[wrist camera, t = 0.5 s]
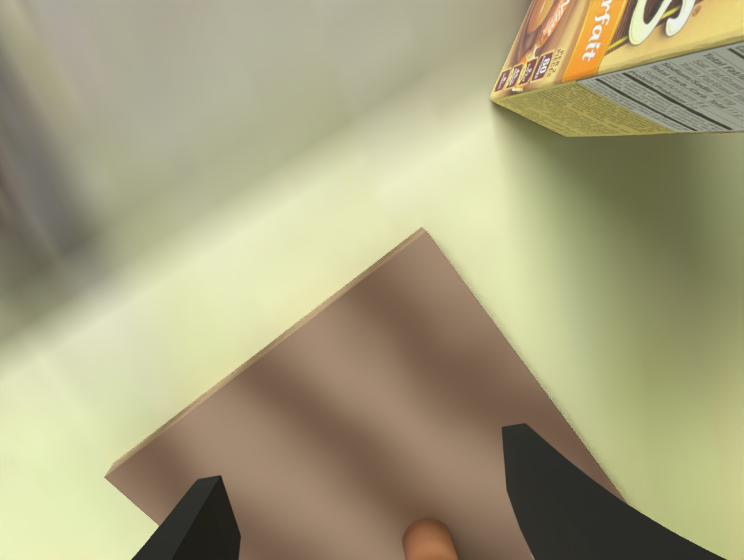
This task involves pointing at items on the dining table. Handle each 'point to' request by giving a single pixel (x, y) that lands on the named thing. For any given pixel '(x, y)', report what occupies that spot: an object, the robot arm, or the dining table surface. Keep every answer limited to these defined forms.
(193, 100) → the dining table surface
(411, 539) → the joystick
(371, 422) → the thin wooden panel
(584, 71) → the candy box
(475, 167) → the dining table surface
